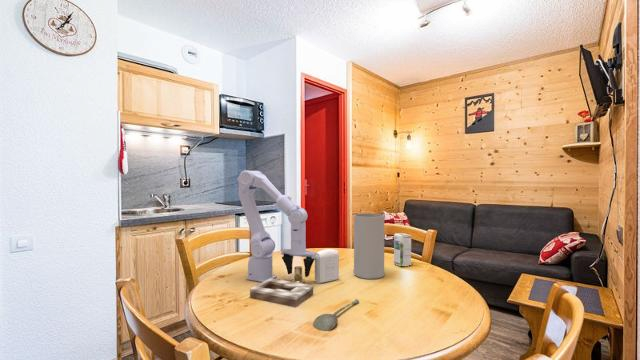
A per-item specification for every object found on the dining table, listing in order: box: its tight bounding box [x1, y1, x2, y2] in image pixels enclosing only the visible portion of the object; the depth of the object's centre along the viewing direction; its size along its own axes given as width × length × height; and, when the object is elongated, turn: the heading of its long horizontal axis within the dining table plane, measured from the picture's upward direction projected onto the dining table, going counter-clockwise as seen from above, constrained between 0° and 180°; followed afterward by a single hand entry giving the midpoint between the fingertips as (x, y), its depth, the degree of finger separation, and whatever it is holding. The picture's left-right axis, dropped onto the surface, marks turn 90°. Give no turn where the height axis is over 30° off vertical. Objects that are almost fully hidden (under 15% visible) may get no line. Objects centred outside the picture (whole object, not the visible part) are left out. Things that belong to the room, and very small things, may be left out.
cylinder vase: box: [353, 212, 385, 280], centre depth 129 cm, size 12×12×25 cm
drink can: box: [393, 232, 412, 267], centre depth 143 cm, size 6×6×14 cm
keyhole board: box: [249, 278, 314, 308], centre depth 107 cm, size 18×12×3 cm, turn 64°
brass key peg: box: [291, 265, 306, 284], centre depth 120 cm, size 5×5×6 cm
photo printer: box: [314, 248, 340, 284], centre depth 122 cm, size 10×4×12 cm, turn 123°
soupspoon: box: [312, 298, 360, 332], centre depth 92 cm, size 22×3×7 cm
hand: (298, 274), depth 120 cm, fingers open, 7 cm apart
